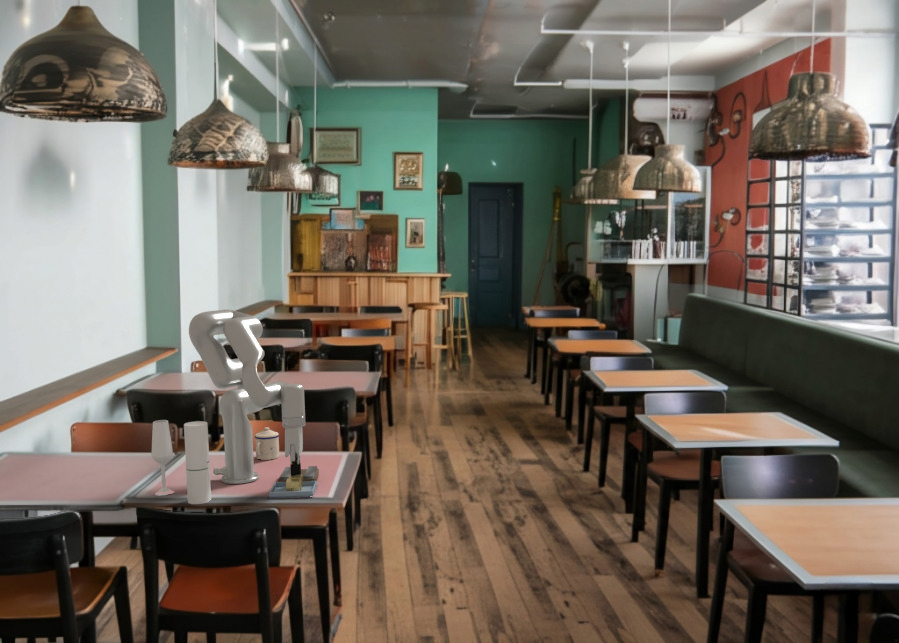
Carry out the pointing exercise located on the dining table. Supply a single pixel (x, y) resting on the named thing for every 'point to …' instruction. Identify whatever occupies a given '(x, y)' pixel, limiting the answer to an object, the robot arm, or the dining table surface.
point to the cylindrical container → (197, 462)
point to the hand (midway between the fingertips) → (296, 475)
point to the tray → (280, 491)
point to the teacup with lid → (267, 444)
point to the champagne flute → (161, 447)
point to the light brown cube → (298, 477)
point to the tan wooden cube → (293, 484)
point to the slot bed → (307, 474)
